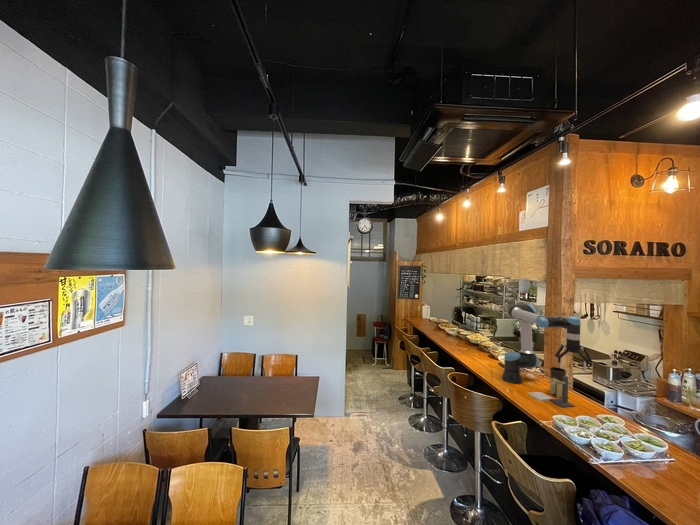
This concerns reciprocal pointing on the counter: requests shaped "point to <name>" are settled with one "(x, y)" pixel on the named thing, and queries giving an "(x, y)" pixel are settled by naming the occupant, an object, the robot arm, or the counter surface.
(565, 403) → the stand
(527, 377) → the counter surface
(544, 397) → the plate
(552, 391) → the link
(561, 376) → the beer stein
